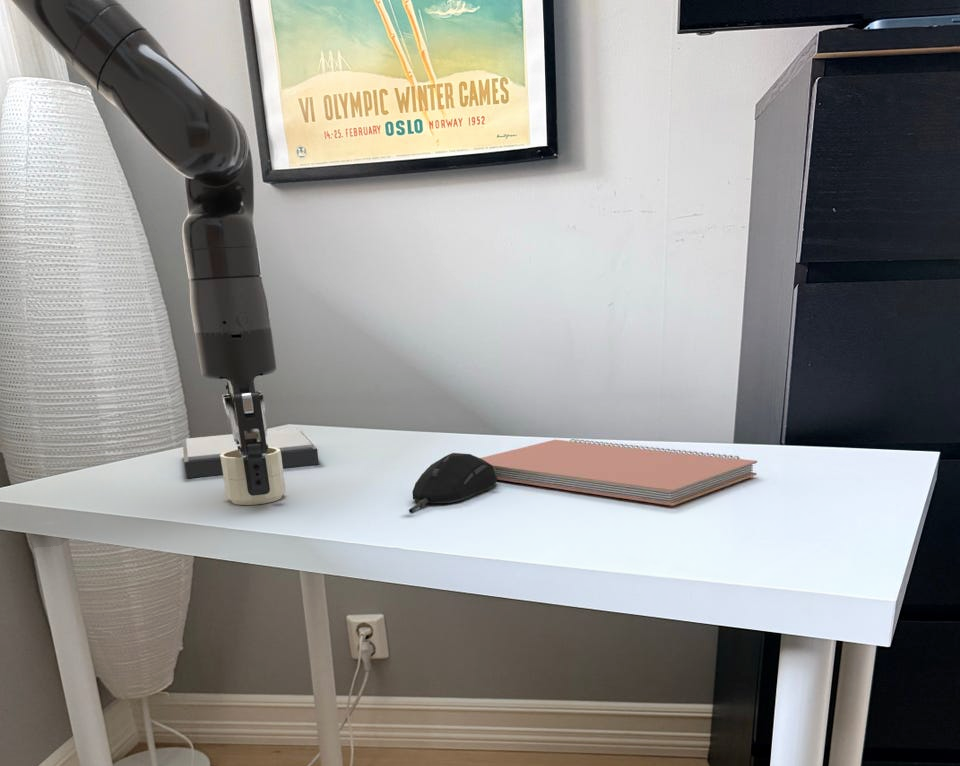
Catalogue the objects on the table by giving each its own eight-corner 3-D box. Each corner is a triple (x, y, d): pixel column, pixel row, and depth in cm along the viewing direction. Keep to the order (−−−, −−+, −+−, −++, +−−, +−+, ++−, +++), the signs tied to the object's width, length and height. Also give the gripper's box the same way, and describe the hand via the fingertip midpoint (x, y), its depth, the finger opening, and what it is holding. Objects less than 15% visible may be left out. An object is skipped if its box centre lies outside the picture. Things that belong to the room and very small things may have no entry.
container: (229, 508, 96) (221, 460, 94) (225, 496, 101) (218, 450, 100) (289, 501, 97) (283, 454, 96) (282, 490, 103) (277, 444, 101)
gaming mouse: (383, 510, 92) (380, 470, 90) (457, 479, 104) (455, 443, 102) (438, 515, 89) (435, 473, 87) (507, 482, 101) (506, 445, 99)
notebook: (761, 475, 98) (762, 456, 97) (672, 508, 87) (673, 487, 86) (560, 452, 116) (560, 435, 115) (466, 476, 104) (465, 459, 104)
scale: (186, 479, 112) (183, 458, 111) (185, 456, 126) (181, 438, 125) (319, 464, 116) (317, 444, 115) (302, 445, 130) (300, 427, 129)
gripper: (192, 326, 98) (216, 478, 104) (195, 332, 86) (223, 504, 92) (264, 321, 100) (284, 470, 106) (277, 326, 88) (299, 495, 94)
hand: (255, 486), depth 99 cm, fingers open, 8 cm apart
